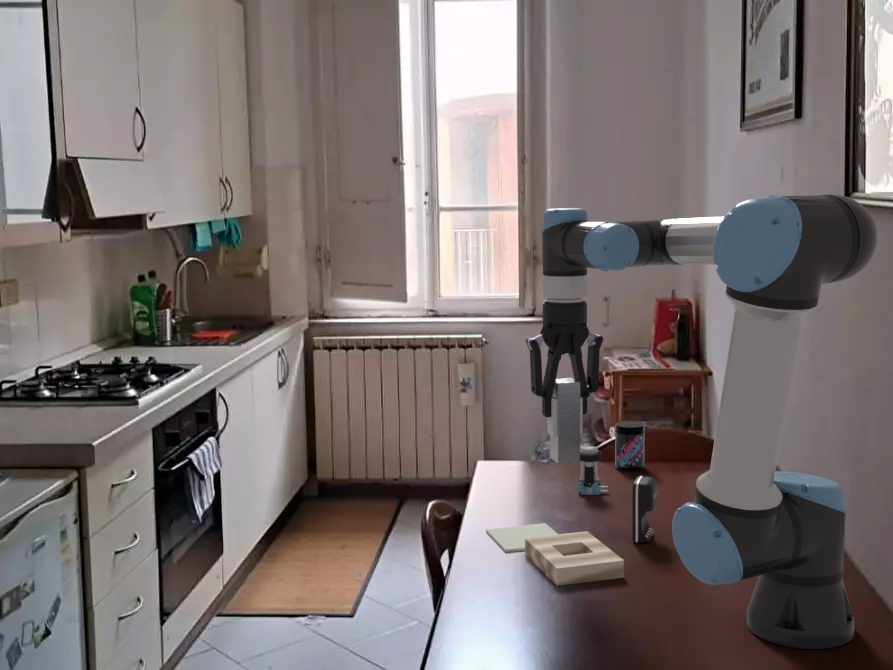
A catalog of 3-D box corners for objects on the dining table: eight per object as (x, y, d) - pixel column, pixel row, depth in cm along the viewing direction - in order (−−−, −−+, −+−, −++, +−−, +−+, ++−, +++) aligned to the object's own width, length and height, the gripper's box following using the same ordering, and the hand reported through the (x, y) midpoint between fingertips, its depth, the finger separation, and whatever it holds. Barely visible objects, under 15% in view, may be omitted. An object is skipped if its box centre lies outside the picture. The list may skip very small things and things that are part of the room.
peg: (579, 461, 185) (580, 382, 183) (558, 463, 184) (558, 383, 182) (571, 455, 189) (571, 377, 187) (549, 457, 188) (549, 379, 186)
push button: (607, 489, 232) (607, 444, 231) (609, 497, 227) (608, 450, 225) (576, 489, 233) (575, 444, 231) (577, 497, 227) (577, 451, 226)
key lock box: (652, 545, 197) (652, 484, 195) (631, 543, 198) (631, 483, 196) (658, 533, 203) (658, 474, 202) (637, 531, 204) (638, 473, 203)
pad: (567, 545, 198) (567, 542, 198) (505, 552, 195) (505, 549, 195) (545, 525, 209) (545, 523, 209) (486, 532, 206) (486, 529, 206)
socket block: (623, 577, 181) (623, 560, 181) (557, 585, 178) (556, 568, 178) (587, 547, 196) (587, 531, 196) (525, 554, 193) (524, 538, 193)
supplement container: (609, 469, 248) (609, 425, 247) (623, 462, 254) (623, 419, 252) (636, 473, 244) (636, 428, 243) (649, 466, 250) (649, 423, 248)
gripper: (602, 294, 188) (601, 425, 192) (510, 299, 184) (511, 432, 188) (620, 299, 181) (619, 434, 185) (524, 304, 177) (525, 443, 180)
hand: (564, 433), depth 186 cm, fingers closed on peg, 4 cm apart
